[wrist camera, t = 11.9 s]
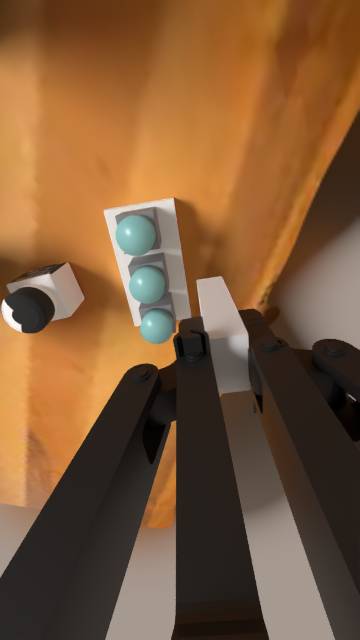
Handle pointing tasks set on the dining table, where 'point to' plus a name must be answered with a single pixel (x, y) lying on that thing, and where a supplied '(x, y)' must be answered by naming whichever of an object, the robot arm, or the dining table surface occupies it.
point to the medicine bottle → (41, 298)
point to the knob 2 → (147, 284)
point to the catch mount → (154, 258)
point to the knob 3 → (156, 325)
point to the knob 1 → (135, 235)
